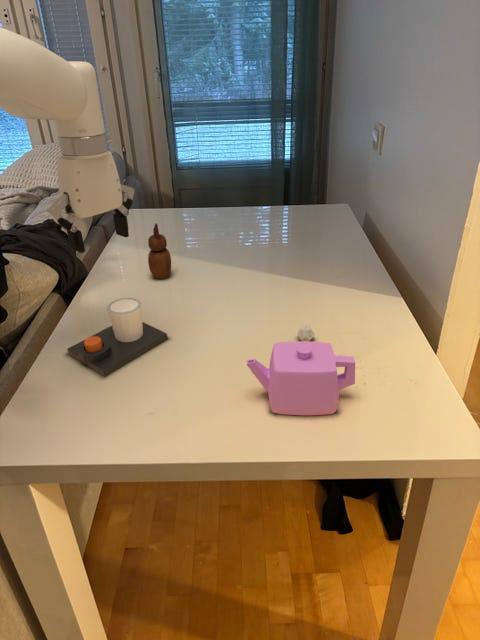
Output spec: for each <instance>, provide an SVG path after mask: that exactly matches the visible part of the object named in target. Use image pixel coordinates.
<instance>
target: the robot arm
mask: <svg viewBox="0 0 480 640" xmlns="http://www.w3.org/2000/svg"><path fill="white" fill-rule="evenodd" d="M0 108H1V110H3V111H4V112H6V113H7V114H9V115H11V116H14V117H16V118H20V119H27V120H47V121H54V123H55V128H56V133H57V137H58V144H59V148H60V153H61V156H57V164H56V165H57V167H56V170H57V184H58V193H59V198H58V199H56V200H55V202H53V203H52V204H51V205H50V206H49V207H48V208H47V210H46V212H47V214H48V215H49V216H50V217H51V219H52V220H53V221H54V223H55V224H57V225H58V226H60V227H61V228H63V229H64V230H65V231H66V234H67V237H68V244H69V246H70V248H71V249H72V251H75V252H77V253H80V254H83V253H85V252H86V248H85V244H84V238H83V233H82V231H81V230H79V227H80V225H81V223H82V221H83V219H87V218H90V217H94V216H98V215H101V214H104V213H108V212H110V211H114V213H113V216H112V217H113V218H112V219H113V223H114V229H115V234H116V235H117V236H120V237H124V238H128V237H129V236H130V234H129V223H128V222H129V221H128V216H129V215H130V209H131V207H132V205H133V203H134V202H133V200H134V196H135V192H136V190H135V188H134V187H132V186H128V185H126V184H123V183H121V180H120V176H119V173H118V169H117V165H116V162H115V159H114V157H113V154H112V152H111V151H110V150H109V147H108V144H109V143H111V142H112V136H111V135H110V134H106V129H105V123H104V116H103V111H102V103H101V98H100V90H99V84H98V77H97V73H96V70H95V68H94V66H93V64H91V63H90V62H87V61H81V60H80V61H78V60H77V61H76V60H75V61H69V60H66V59H65V58H63V57H61V56H60V55H58V54H57V53H55V52H53V51H51V50H50V49H48V48H47V47H45V46H43V45H42V44H39V43H38V42H36V41H34V40H32V39H30V38H27V37H25V36H23V35H22V34H18V33H16V32H13V31H12V30H10V29H6V28H4V27H1V26H0ZM61 212H63V213H64V214H66V216H65V218H64V217H63V215H62V213H61Z"/></svg>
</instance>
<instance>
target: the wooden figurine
mask: <svg viewBox="0 0 480 640" xmlns="http://www.w3.org/2000/svg"><path fill="white" fill-rule="evenodd" d="M152 229H153V231H152V232H153V234H152V235H150V236H149V237H148V241H147V243H148V248H149V249H150V250H149V252H148V255H147V256H148V257H147V262H148V268H149V271H150V273H151V275H152V277H153V278H155V279H159V280H160V279H161V280H163V279H166V278H168V277H169V276H170V275H171V272H172V256H171V253H170V251H169V249H168V248H167V246H168V244H167V239H166V236H165V235H163V234H160V231H159V225H158V223H154V226H153V228H152Z"/></svg>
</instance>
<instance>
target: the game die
mask: <svg viewBox="0 0 480 640" xmlns="http://www.w3.org/2000/svg"><path fill="white" fill-rule="evenodd" d="M296 333H297V337H298V338H299V341H308V342H311V340H312V339H313V338H314V336H315V332H314V330H313V328H312V326H311V325H310V324H302V325H301V327H300V328H299V330H298V331H297V332H296Z"/></svg>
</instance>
